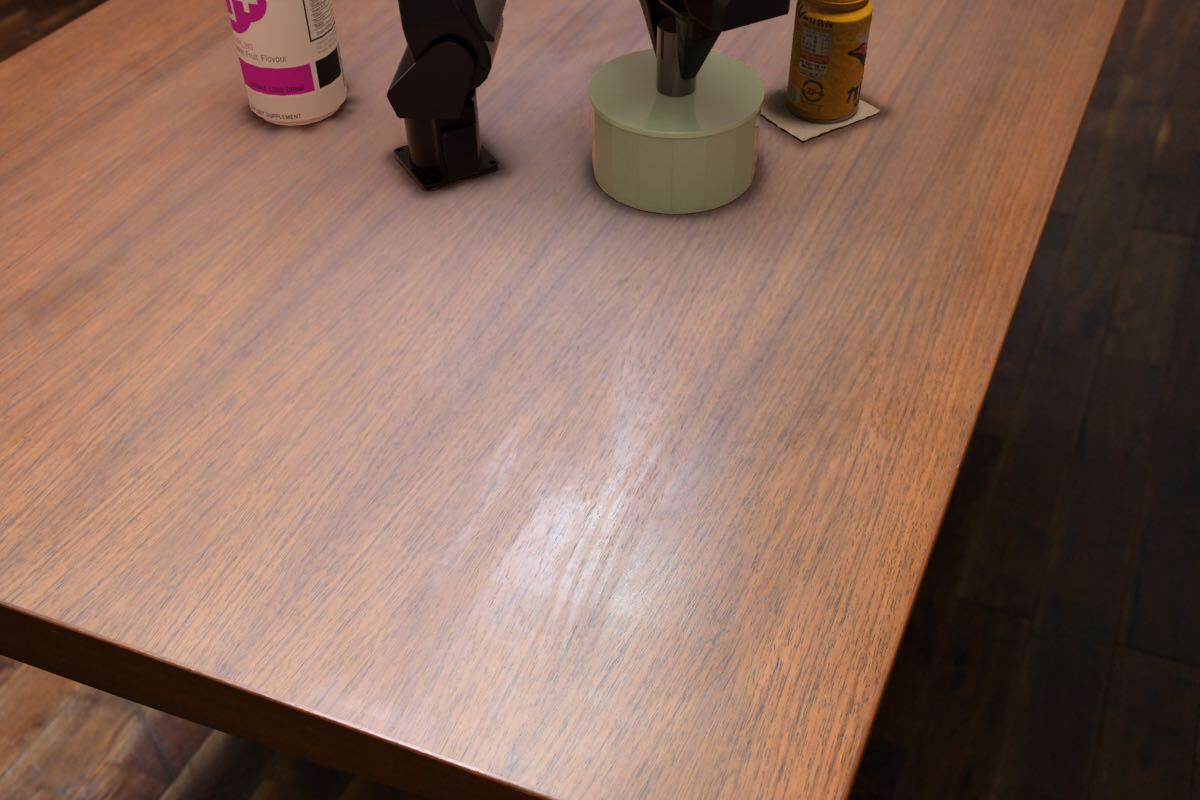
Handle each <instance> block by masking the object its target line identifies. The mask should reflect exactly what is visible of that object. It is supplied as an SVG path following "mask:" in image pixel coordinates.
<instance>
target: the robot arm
mask: <svg viewBox="0 0 1200 800" xmlns="http://www.w3.org/2000/svg"><path fill="white" fill-rule="evenodd" d="M638 1H639V4H640V8H641V11H642V14H643V18H644V21H645V24H646V28H647V31H648V34H649V38H650V41H651V44H652V49H654V52H655V55H656V59H657V23H658V21H659V20H660V19H662V18H664V17H667V16H673V15H675V17H676V31H677V46H678V61H679V69H680V76H681V78H682V79H683V80H689V79H692V78H695V77H696V75H697V74H698V72H699V70H700V68H701V67H702V65H703V63H704V62H705V60H706V58H707V56H708V55H709V53H710V51H712V49H713V48H714V46H715V44H716V42H717V41H718V39H719V37H720V35H721V33H724V32H729V31H732V30H735V29H739V28H742V27H746V26H749V25H753V24H758V23H761V22H765V21H768V20H772V19H775V18H779V17H782V16H786V15H788V14H789V12H790V9H791V0H638ZM506 4H507V0H397V5H398V11H399V16H400V22H401V28H402V32H403V35H404V38H405V41H406V47H405V49H404V51H403V54H402V56H401V59H400V61H399V63H398V66H397V68H396V71H395V73H394V76H393V78H392V80H391V82H390V85H389V86H388V90H387V92H386V99H387V100H388V102H389V104H390V106H391V108H392V110H393V112H394V113H395V115H396V117H397V118H398V119H402V120H403V122H404V128H405V136H406V143H407V144H405V145H401V146H398V147H395V148H394V149H393V153H394V158H396V159H397V160H398V162H400V164H401V165H402V166H403V168H404V169H405V170H406V171H407V173H408V174H409V175H410V176H411V177H412V178H413V180H414V181H415V182H416V183H417V184H418V186H419V187H420V188H421V189H422V190H424V191H433V190H435V189H438V188H442V187H445V186H448V185H451V184H454V183H458V182H462V181H465V180H468V179H471V178H475V177H478V176H481V175H484V174H487V173H491V172H494V171H497V170H499V168H500V162H499V160H498V159H497V158H496V157H495V156H494V155H493V154H492V153H491V152H490V151H489V149H488V148H486V147H485V145H483V144H482V137H481V130H480V128H481V127H480V117H479V109H478V108H479V107H478V106H479V105H478V95H477V89H478V88H479V87H481V86H482V85H483V83H484V82H486V80H487V79H488V77H489V75H490V73H491V70H492V67H493V64H494V60H495V57H496V54H497V51H498V48H499V44H500V40H501V37H502V33H503V31H504V15H503V13H504V11H505V7H506Z"/></svg>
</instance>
